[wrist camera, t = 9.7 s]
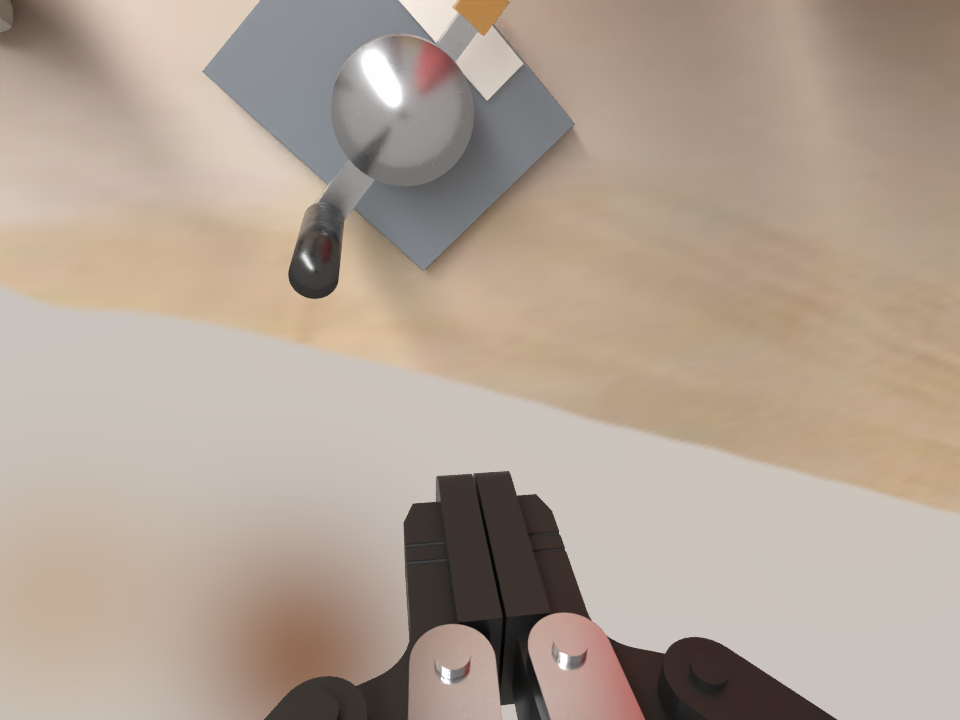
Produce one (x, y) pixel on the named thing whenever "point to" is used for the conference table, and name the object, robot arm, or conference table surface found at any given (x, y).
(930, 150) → the conference table surface
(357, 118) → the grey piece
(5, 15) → the digital clock
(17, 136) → the conference table surface
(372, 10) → the stand
